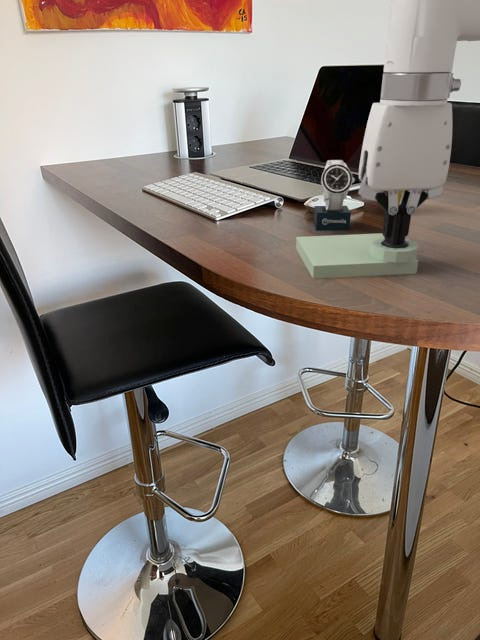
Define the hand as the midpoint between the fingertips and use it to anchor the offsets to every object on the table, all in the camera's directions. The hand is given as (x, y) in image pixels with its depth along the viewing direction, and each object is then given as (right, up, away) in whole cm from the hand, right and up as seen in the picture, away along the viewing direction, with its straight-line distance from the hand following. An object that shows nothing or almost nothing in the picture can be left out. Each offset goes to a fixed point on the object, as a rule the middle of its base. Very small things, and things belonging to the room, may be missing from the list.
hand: (393, 241), depth 66 cm
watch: (-5, +5, +19) cm, 20 cm away
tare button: (0, -2, +1) cm, 2 cm away
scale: (-5, -2, +5) cm, 7 cm away
